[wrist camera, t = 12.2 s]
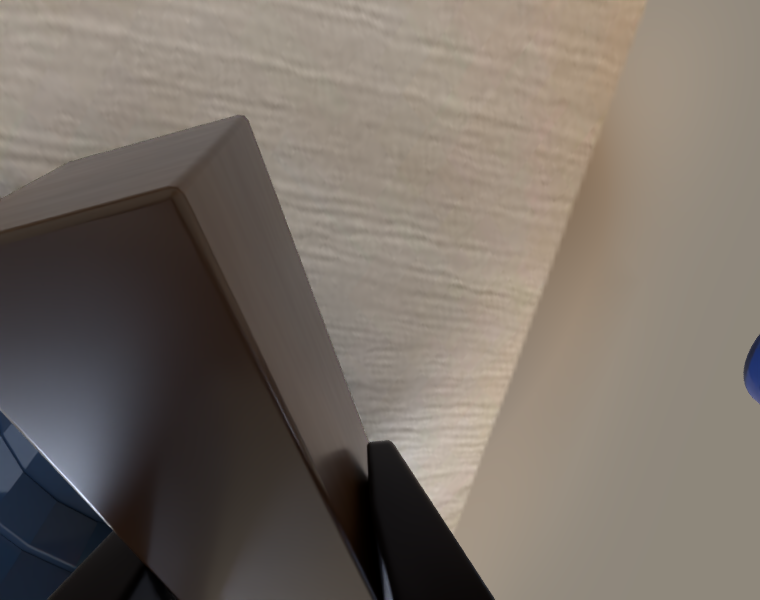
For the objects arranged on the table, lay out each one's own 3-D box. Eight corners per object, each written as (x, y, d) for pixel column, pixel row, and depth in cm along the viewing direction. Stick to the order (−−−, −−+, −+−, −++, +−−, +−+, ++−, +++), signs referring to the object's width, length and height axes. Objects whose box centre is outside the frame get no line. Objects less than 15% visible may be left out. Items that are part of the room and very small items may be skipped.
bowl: (329, 253, 17) (326, 326, 13) (363, 522, 24) (368, 626, 20) (-101, 291, 16) (-261, 380, 12) (66, 554, 24) (4, 668, 19)
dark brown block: (246, 110, 6) (175, 187, 3) (401, 526, 10) (422, 692, 8) (65, 161, 6) (-140, 272, 3) (298, 549, 11) (285, 718, 8)
